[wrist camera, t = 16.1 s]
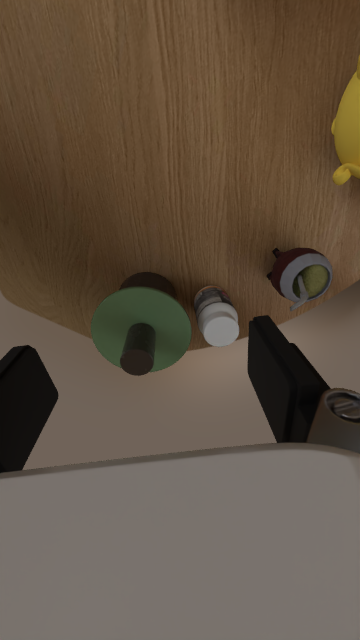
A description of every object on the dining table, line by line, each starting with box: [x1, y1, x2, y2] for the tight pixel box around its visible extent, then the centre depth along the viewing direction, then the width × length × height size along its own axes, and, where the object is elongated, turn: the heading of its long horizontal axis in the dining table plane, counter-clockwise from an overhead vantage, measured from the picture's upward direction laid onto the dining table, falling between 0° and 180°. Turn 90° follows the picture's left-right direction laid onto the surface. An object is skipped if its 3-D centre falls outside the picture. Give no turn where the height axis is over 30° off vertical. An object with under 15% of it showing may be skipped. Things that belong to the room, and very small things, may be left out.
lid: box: [91, 287, 191, 376], centre depth 28 cm, size 13×13×7 cm
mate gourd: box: [267, 248, 332, 311], centre depth 31 cm, size 8×8×15 cm
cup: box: [119, 272, 178, 301], centre depth 35 cm, size 10×10×9 cm
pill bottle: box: [194, 286, 239, 347], centre depth 35 cm, size 6×6×10 cm
